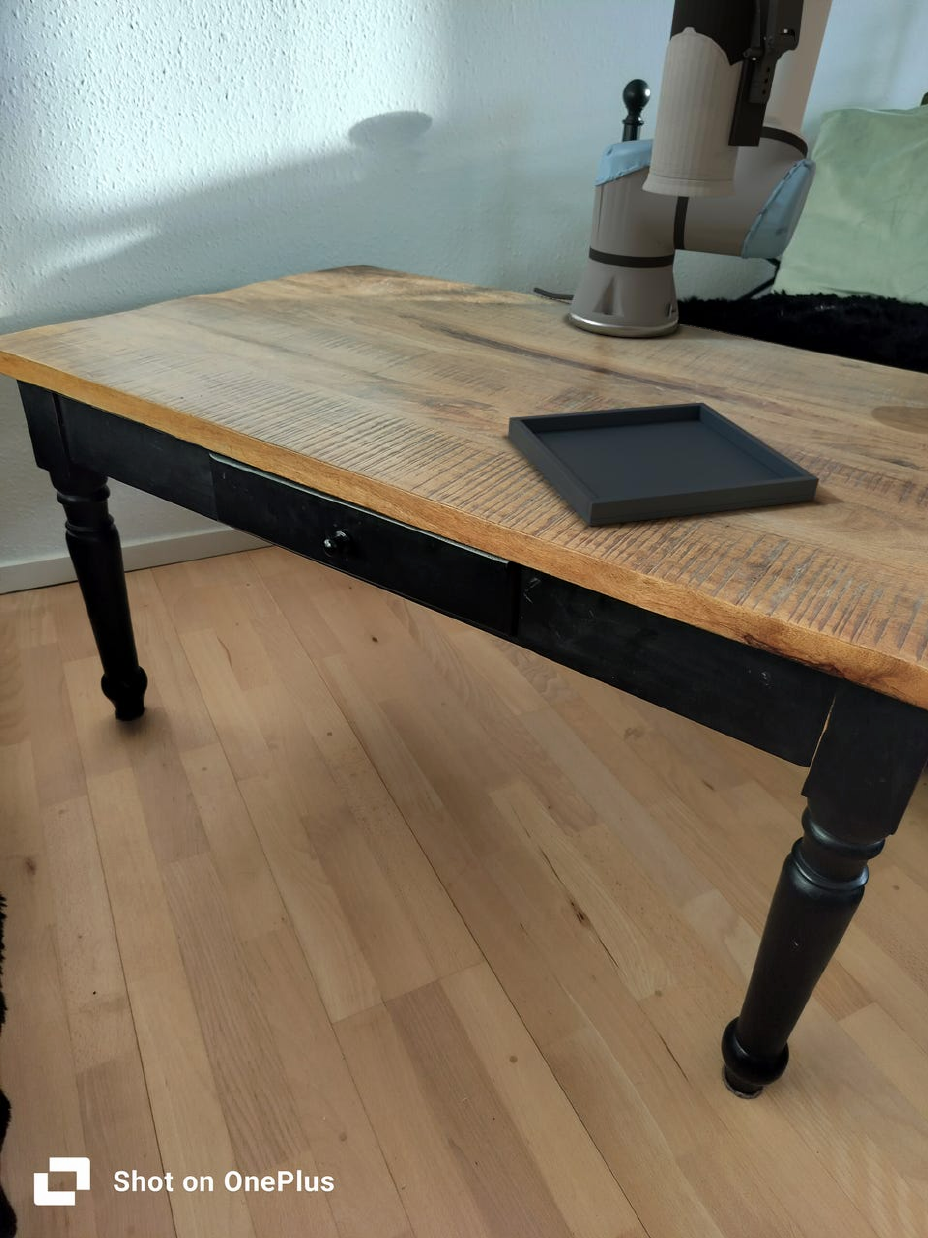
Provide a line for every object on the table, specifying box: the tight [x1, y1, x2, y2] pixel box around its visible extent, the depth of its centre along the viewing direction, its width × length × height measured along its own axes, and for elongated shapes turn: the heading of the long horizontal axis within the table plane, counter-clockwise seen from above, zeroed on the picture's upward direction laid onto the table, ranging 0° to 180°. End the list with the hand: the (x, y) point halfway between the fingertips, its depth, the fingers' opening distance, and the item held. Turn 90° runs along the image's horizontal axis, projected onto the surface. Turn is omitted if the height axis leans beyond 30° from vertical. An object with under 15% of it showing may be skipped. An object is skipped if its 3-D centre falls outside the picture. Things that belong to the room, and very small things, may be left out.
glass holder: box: [642, 0, 766, 198], centre depth 80 cm, size 9×14×15 cm, turn 134°
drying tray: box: [507, 401, 820, 527], centre depth 80 cm, size 20×22×2 cm
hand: (717, 141), depth 81 cm, fingers closed on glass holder, 8 cm apart
